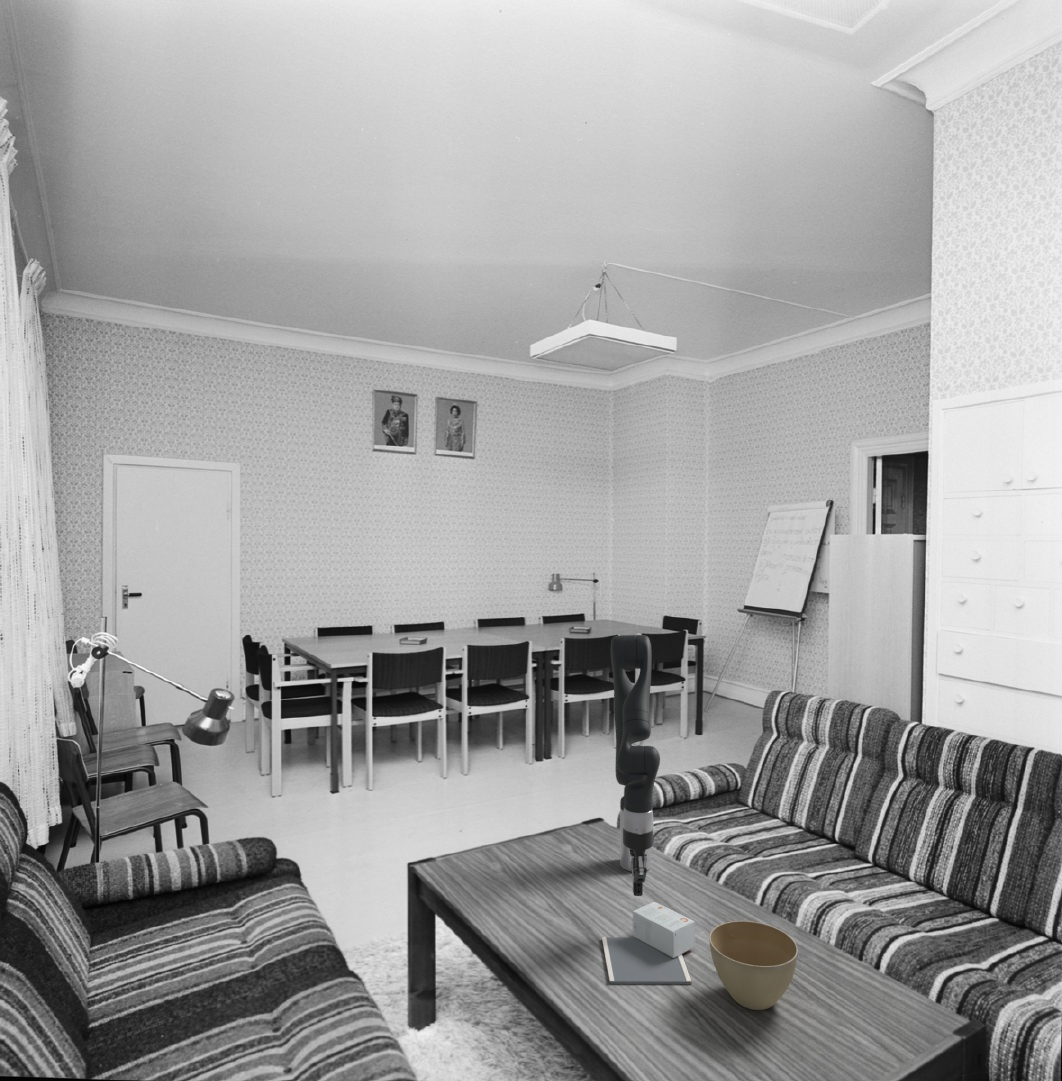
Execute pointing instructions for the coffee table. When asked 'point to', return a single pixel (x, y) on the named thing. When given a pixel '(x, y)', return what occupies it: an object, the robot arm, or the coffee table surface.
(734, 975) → the beige round bowl
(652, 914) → the small box
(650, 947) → the mat
